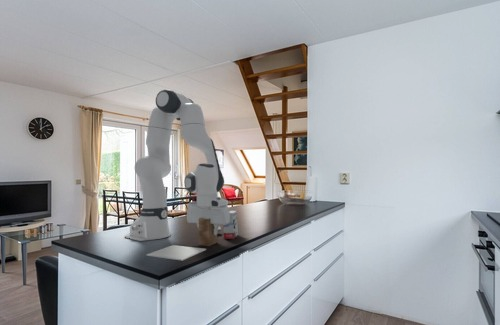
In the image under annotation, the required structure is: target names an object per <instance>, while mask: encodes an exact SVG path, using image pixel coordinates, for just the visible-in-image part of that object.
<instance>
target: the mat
mask: <svg viewBox="0 0 500 325" xmlns="http://www.w3.org/2000/svg"><path fill="white" fill-rule="evenodd" d="M204 251H207V248H203V247H202V248H201V247H194V246H193V247H192V246H182V245H175V244H174V245H173V244H172V245H169V246H166V247H164V248H161V249H159V250H158V249H157V250H155V251H152V252H150V253H147V254H146V256H147V257H152V258H153V257H154V258H160V259H168V260H176V261H182V262H183V261H185V260H188V259H190V258H191V257H194V256H196V255H198V254H200V253H203V252H204Z"/></svg>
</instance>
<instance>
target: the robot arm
mask: <svg viewBox="0 0 500 325" xmlns="http://www.w3.org/2000/svg"><path fill="white" fill-rule="evenodd" d="M155 105H156V107H153V109H152V111H151V114H150V117H149V120H148V126H147V131H146V138H145V145H146V147H147V155H146V156H142V157H140V158H139V159H137V160H136V162H135V164H134V172H135V174H136V176H138V179H139V182H140V187H141V192H142V208H141V209H140V210H138V213H140V214H139V216H138V218H136V219H135V220H134V221H133V222H132V223H131V224H130V226H129V233H127V234H124V238H125V237H126V239H129V238H130V239H129V240H135V241H140V242H144V241H150V240H151V241H152V240H153V241H154V240H158V239H159V240H160V239H165V238H168V237H170V236H171V235H172V234H171V231H170V226H169V219H168V212H169V211H168V210H169V209H168V204H167V199H168V198H167V189H166V188H165V185H164V181H163V180H164V178H166V177H167V176H168V175H169V174H170V173H171V170H172V165H171V163H170V159H171V158H170V156H171V155H170V143H171V135H172V130H173V129H172V128H173V122H175V120H177V121H180V133H181V137H182V140H184V142H185V143H186V144H187V145H189V146H191V147H193V148H196V149H197V150H199V151H200V152H202V153H203V154H204V156H205V159H206V163H199V164H197V165H196V168H195V169H194V170H193V171H191V172H188V173H187V174H186V175H185V177H184V188H185V190H186V191H187V192H188V193H190V194H196V201H194V200H191V201H190V202H188V204H187V211H186V221H187V223H189V224H190V223H192V224H196V227H197V229H198V230H199V218H210V223H211V224H214V227H215V228H214V230H212V235H216V234H217V235H218V233H217V229H218V227H220V225H226V224H228V223H229V222H230V211H231V210H230V208H229V206H228V204H229V201H228V199H226V198H223V197H220V196H218V193H219V192H220V191H222V189H223V188H224V185H225V177H224V176H223V173H222V171H221V168H220V163H219V159H218V155H217V151H216V146H215V144H214V140H213V139H212V138H210V137H209V134H208V133H207V130H206V124H205V117H204V113H203V110H202V109H203V108H202V107H201V106H200V105H199V104H197V103H194V101H193V100H192V99H190V98H188V97H187V96H186V95H183V94H182V93H178V92H176V91H174V90H172V89H167V88H166V89H161V90H160V91H159V92H158V93H157V94H156V97H155Z"/></svg>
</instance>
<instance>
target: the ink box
mask: <svg viewBox="0 0 500 325" xmlns="http://www.w3.org/2000/svg"><path fill="white" fill-rule="evenodd" d="M229 211H230V222H229V223H228V224H226V225H223V226H222V227H223V228H222V230H223V239H224V240H234V239H235V238H236V237H238V235H239V230H238V226H239V225H238V211H237V210H229Z"/></svg>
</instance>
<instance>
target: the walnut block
mask: <svg viewBox="0 0 500 325" xmlns="http://www.w3.org/2000/svg"><path fill="white" fill-rule="evenodd" d="M214 228H215V227H214V224H211V223H210V218H199V229H198V238H199V239H198V244H199V246H204V247H205V246H206V247H210V246H213V245H215V244H217V243H218V233H217V234H216V235H212V230H214Z"/></svg>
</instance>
